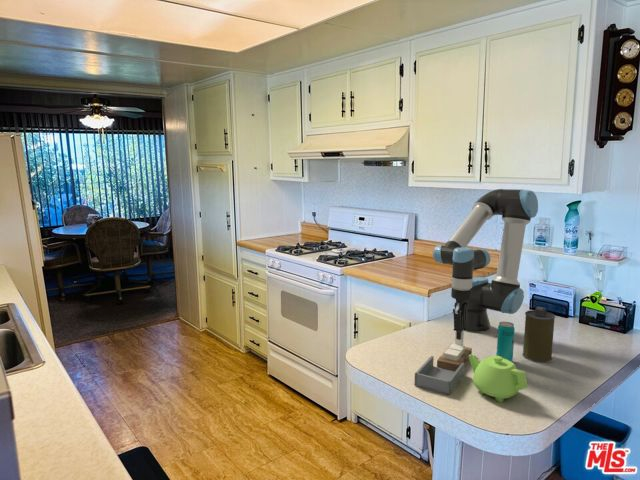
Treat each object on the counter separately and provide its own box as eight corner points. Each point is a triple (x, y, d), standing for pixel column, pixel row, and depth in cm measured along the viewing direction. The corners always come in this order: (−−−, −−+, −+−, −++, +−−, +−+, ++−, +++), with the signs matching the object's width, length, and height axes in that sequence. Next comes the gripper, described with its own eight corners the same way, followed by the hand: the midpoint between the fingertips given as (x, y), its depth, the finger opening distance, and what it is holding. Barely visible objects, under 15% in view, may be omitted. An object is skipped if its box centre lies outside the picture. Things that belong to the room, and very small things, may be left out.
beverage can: (513, 365, 166) (516, 326, 164) (497, 363, 167) (499, 325, 165) (510, 358, 172) (512, 321, 170) (495, 357, 173) (497, 320, 171)
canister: (549, 365, 166) (552, 313, 163) (519, 358, 172) (522, 308, 169) (554, 355, 175) (558, 306, 171) (526, 349, 181) (529, 301, 178)
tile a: (452, 348, 175) (452, 343, 175) (465, 350, 172) (465, 346, 172) (448, 352, 171) (448, 347, 170) (461, 355, 168) (461, 350, 168)
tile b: (447, 353, 170) (447, 348, 170) (460, 356, 167) (461, 351, 167) (443, 358, 166) (443, 353, 166) (457, 361, 163) (457, 355, 163)
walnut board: (451, 351, 180) (451, 344, 179) (471, 355, 175) (471, 348, 175) (436, 367, 165) (437, 360, 164) (458, 372, 160) (458, 365, 160)
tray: (431, 366, 165) (431, 355, 165) (463, 374, 159) (464, 363, 158) (414, 385, 151) (414, 373, 151) (449, 394, 145) (449, 382, 144)
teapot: (457, 387, 150) (458, 352, 148) (479, 376, 158) (481, 342, 156) (513, 412, 134) (516, 373, 132) (535, 398, 142) (538, 361, 140)
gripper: (456, 283, 178) (454, 339, 181) (446, 290, 167) (444, 349, 171) (476, 285, 174) (473, 343, 177) (467, 293, 163) (464, 354, 167)
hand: (459, 346), depth 174 cm, fingers closed
